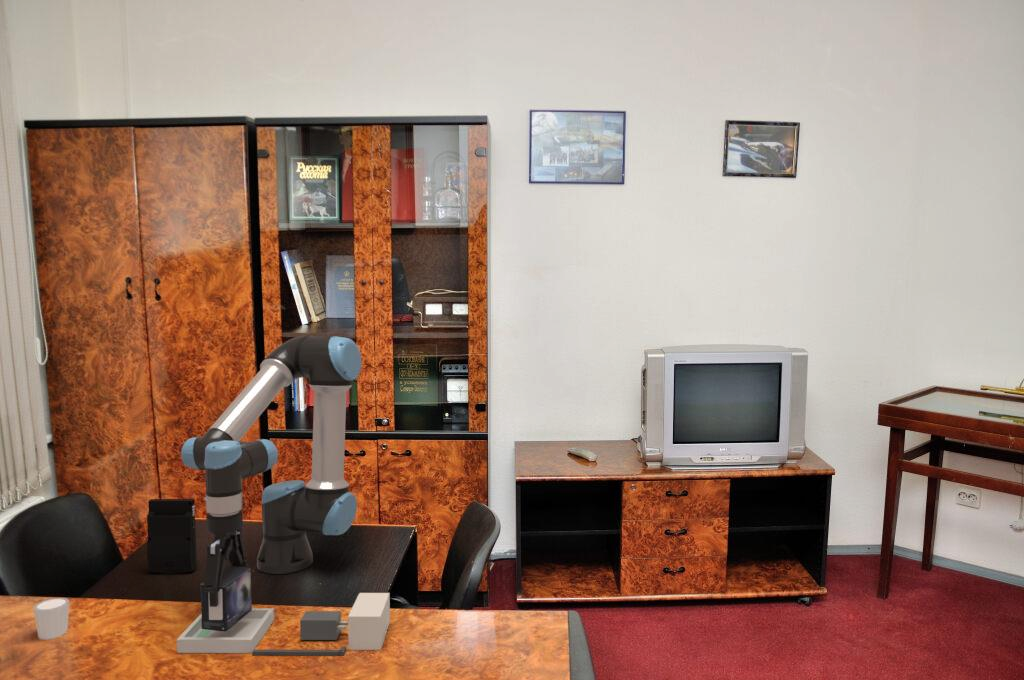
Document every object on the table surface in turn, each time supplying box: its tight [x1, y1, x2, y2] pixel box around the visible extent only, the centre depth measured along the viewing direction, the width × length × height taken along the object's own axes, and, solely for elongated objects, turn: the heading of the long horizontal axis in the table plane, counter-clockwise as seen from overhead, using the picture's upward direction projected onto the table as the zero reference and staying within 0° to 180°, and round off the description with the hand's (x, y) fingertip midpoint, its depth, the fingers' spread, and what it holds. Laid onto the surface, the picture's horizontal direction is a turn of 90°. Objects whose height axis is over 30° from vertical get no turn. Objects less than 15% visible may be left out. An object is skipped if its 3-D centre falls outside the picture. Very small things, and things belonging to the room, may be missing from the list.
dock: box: [176, 607, 275, 654], centre depth 164 cm, size 15×16×3 cm
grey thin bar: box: [251, 645, 347, 657], centre depth 157 cm, size 2×20×1 cm, turn 90°
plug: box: [299, 610, 348, 641], centre depth 164 cm, size 4×10×4 cm, turn 90°
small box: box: [200, 564, 253, 632], centre depth 163 cm, size 11×6×10 cm, turn 169°
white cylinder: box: [33, 597, 70, 641], centre depth 165 cm, size 7×7×7 cm
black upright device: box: [146, 498, 198, 575], centre depth 199 cm, size 12×5×20 cm, turn 92°
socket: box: [347, 592, 391, 651], centre depth 164 cm, size 12×7×8 cm, turn 0°
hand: (226, 607), depth 164 cm, fingers closed on small box, 11 cm apart
